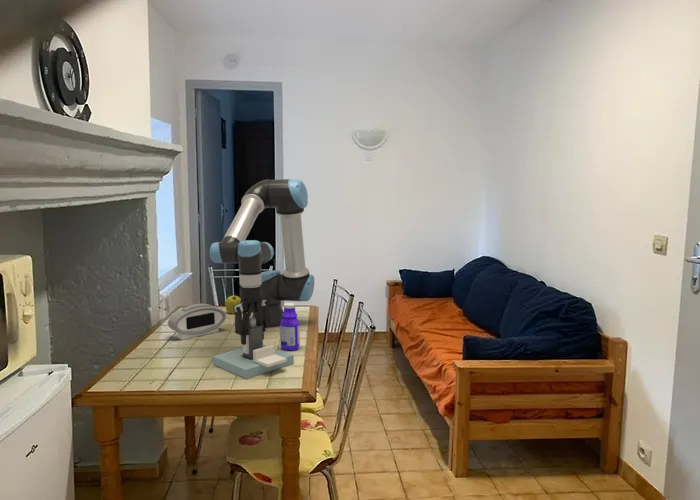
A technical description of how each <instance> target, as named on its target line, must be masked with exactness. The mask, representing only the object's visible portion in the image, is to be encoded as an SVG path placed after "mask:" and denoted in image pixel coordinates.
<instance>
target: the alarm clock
mask: <svg viewBox="0 0 700 500" xmlns="http://www.w3.org/2000/svg"><path fill="white" fill-rule="evenodd" d="M226 317H227V314H226V312H225V311H224V310H223V309H221V308H218V307H216V306H213V305H212V304H208V303H193V304H191V305H187V306H185V307H183V308H181V309H179V310H177V311H175V312H174V313H173V314H172V315H170V317H169V318H168V320H167V325H168V327H169V328H170V330H173V331H175V332H177V334H176V338H177V339H179V340H182V341H183V340H186V339H187V340H188V339H192V338H197V337H201V336H206V335H210V334H215V333H216V334H217V333H219V332H220V329H219V327H220V326H222V324H223V323H224V322H225V321H226Z"/></svg>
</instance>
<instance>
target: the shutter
mask: <svg viewBox="0 0 700 500" xmlns="http://www.w3.org/2000/svg"><path fill="white" fill-rule="evenodd" d="M265 346H266V347H263V348H259V349H256V350H253V362H255V363H258V364H261V365H263V366H266V367H270V366H273V365H277V364H280V363H283V362H286V361H287V358H284V357H281V356H278V355H276V354H275V349H276V348H275V345H273V344H271V345H265Z"/></svg>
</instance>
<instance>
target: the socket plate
mask: <svg viewBox="0 0 700 500" xmlns="http://www.w3.org/2000/svg"><path fill="white" fill-rule="evenodd" d="M266 346H267V345H264V344H263V347H266ZM275 354H276V355H278V356H281V357H284V358H287V361H286V362H283V363H280V364H277V365H273V366H270V367H266V366H263V365H261V364H258V363H255V362H253V360H249V359H247V358H244V357H243V347H241V348H238V349H234V350H230V351H227V352H223V353H219V354H216V355H213V356H212V365H213V366H215V367H217V368H220V369H223V370H225V371H227V372H230V373H232V374H234V375H237V376H238V377H239V376H240V377H242V378H244V379H245V380H246V379H247V380H248V379H250V378H253V377H256V376H259V375H262V374H265V373H269V372H271V371H275V370H279V369H281V368H284V367H287V366H290V365H293V364H294V363H295V360H294V357H295V356H294V355H295V354H290V353H288V352H285V351H282V350H279V349H276V348H275Z"/></svg>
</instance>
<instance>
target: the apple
mask: <svg viewBox="0 0 700 500" xmlns="http://www.w3.org/2000/svg"><path fill="white" fill-rule="evenodd" d="M240 301H241V297H240V296H238V295H236V293H235V294H234V295H231V296H228V297H227V298H226V299H225V301H224V302H225V304H224V305H225V306H224V307H225V310H226V311H227V313H229V314H231V315H235V312H234V309H233V307H234V306H238V305H239V304H240Z"/></svg>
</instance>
